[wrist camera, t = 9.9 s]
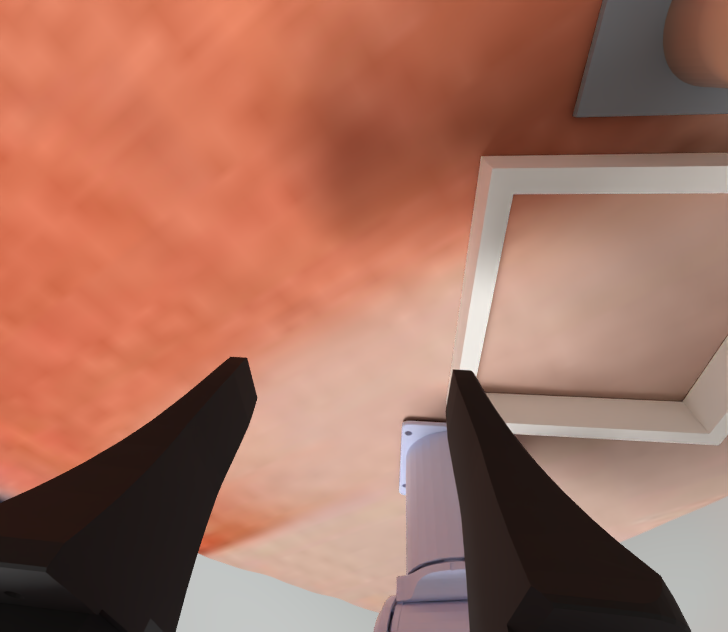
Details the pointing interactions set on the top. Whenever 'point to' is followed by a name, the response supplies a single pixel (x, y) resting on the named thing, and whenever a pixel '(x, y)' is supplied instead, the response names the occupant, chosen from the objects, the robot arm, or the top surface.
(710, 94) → the slate mat
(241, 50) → the top surface
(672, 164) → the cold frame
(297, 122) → the top surface
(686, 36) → the terracotta pot
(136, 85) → the top surface
